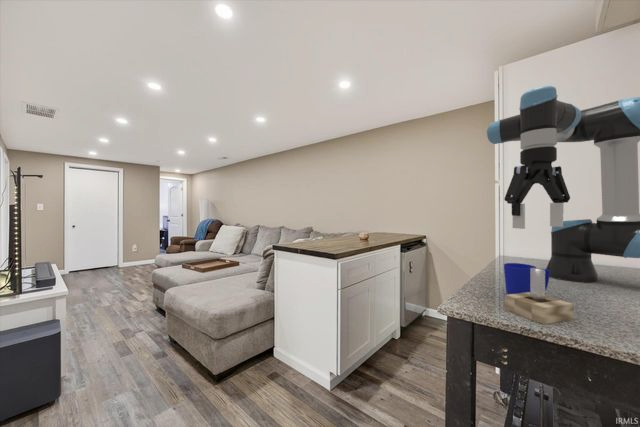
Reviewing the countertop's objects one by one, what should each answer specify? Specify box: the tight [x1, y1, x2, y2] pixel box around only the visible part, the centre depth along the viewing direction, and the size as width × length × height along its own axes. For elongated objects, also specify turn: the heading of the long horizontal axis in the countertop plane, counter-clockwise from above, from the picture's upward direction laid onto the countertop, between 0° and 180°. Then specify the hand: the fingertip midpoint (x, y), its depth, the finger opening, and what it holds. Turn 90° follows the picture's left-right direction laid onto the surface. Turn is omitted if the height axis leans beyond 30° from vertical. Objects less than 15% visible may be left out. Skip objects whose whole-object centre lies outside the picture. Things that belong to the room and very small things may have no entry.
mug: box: [503, 262, 550, 295], centre depth 82 cm, size 8×12×10 cm
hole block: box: [504, 292, 574, 325], centre depth 69 cm, size 10×10×4 cm
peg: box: [530, 267, 546, 303], centre depth 69 cm, size 3×3×12 cm
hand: (538, 227), depth 71 cm, fingers open, 13 cm apart
